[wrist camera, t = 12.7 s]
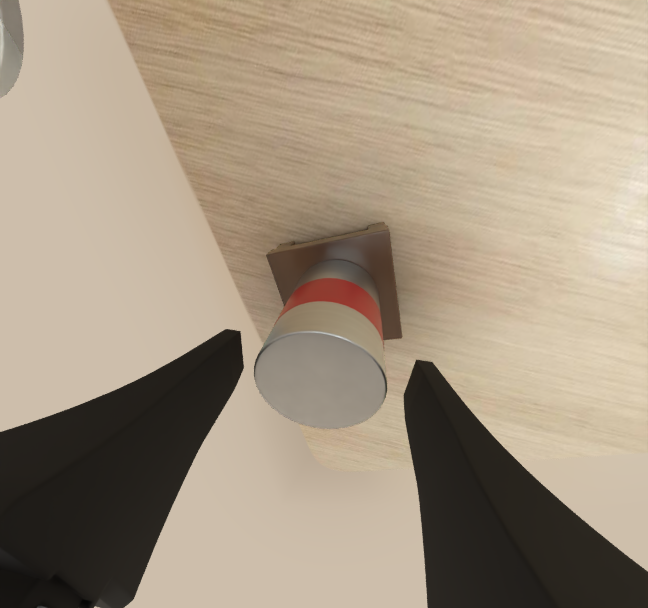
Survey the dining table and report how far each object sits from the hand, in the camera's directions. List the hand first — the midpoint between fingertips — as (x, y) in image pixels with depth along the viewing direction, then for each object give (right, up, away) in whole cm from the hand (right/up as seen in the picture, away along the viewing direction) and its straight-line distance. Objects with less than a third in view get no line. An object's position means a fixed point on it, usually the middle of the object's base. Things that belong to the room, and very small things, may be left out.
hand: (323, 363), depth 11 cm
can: (+1, +3, +5) cm, 6 cm away
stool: (+1, +4, +7) cm, 8 cm away
